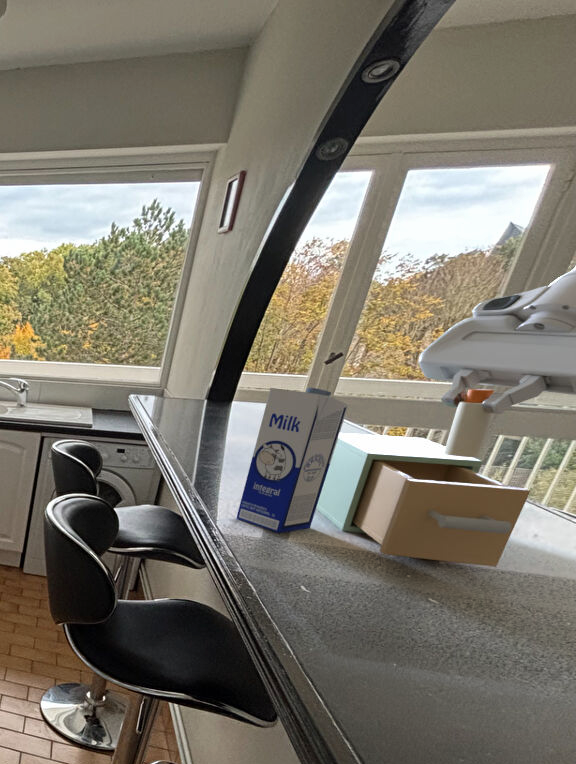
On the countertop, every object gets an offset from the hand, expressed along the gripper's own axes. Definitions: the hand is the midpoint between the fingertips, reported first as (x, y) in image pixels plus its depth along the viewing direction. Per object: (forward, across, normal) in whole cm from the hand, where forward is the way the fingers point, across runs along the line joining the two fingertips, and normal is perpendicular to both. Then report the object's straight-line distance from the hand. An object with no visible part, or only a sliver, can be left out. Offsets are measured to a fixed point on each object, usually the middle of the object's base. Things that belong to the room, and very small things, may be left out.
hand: (468, 406), depth 72 cm
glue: (+3, 0, -5) cm, 6 cm away
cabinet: (+9, +12, -18) cm, 24 cm away
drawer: (+13, 0, -13) cm, 18 cm away
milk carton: (+21, +13, -7) cm, 25 cm away
